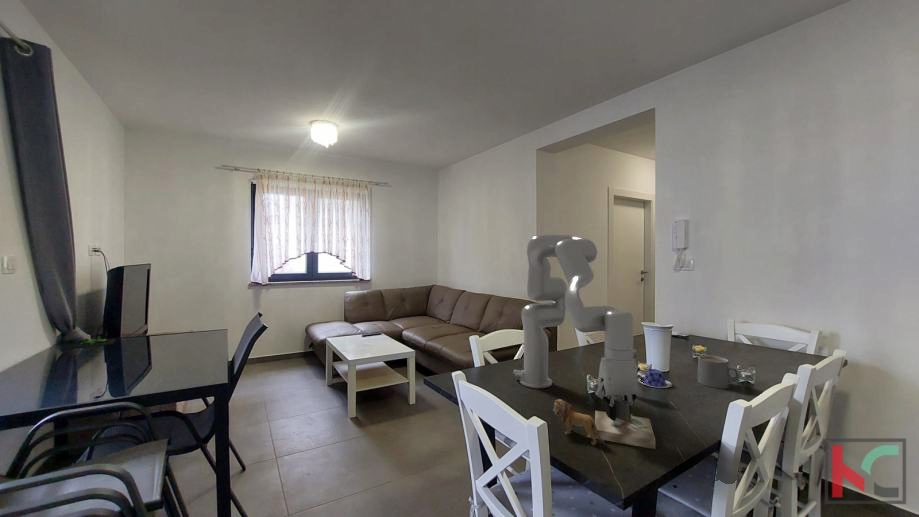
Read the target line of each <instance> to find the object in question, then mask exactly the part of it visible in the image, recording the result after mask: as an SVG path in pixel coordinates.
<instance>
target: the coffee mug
mask: <svg viewBox="0 0 919 517" xmlns="http://www.w3.org/2000/svg"><path fill="white" fill-rule="evenodd" d="M729 361H730V360H728V359H727V358H725V357H722V356H717V355H709V354H708V355H707V354H705V355H704V354H702V355H701V354H700V355H698V356H697V383H699V384H700V383H701V384H700V385H702V384H703V385H702V386H704V385H706V386H705V387H708V386H709V387H708V388H714V389H728V388H729V384H730V383H734V382H737V381H739V380H740V379H741V371H740V369H739V368H738V367H737V366H735V365H732V364H730V362H729ZM731 370H733V371H734V372H735V376H734V377H732V376H730V371H731Z"/></svg>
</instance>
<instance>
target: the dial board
mask: <svg viewBox="0 0 919 517" xmlns="http://www.w3.org/2000/svg"><path fill="white" fill-rule="evenodd" d="M594 413H595V414H594V422H595V424H596V427H597V431H598V434H599V437H600V438H601V439H602V440H604V441H605V442H606V441H607V442H608V441H609V442H612V443H619V444H625V445H631V446H635V447H641V448H646V449H647V448H648V449H652V450H656V437H655V433H654V431H653V426H652V422H651V420H650V418H648V417H640V416H634V415H632V418H631V419H630V420H628V421H626V422H624V423H622V425H621V426H616V425H614V424H613V421H612V420H611V419H610V418H609V417H608V416H607V414H606V411H600V410H595V411H594ZM594 435H595V437H596V440H599V439H598V437H597V434H596V431H595V430H594Z"/></svg>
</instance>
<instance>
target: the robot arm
mask: <svg viewBox="0 0 919 517" xmlns="http://www.w3.org/2000/svg"><path fill="white" fill-rule="evenodd" d="M526 246H527V247H526V248H527V249H526V255H527V261H528V273H527V285H526V286H527V287H526V290H527V291H526V292H527V293H526V295H527V296H528V299H530V300H531V301H535V302H536V303H530V304H527V305H525V306H523V308H522V309H521V313H520V314H521V316H520V317H521V322H522V326H523V328H522V329H523V369H521V370H520V369H513V375H514V377H520V378H519V383H520V384H521V385H522V386H525V387H527V388H531V389H546V388H550V387H551V386H552V385H553V380H552V379H551V378H549V338H548V335H547V334H546V332H545V331H544V329H545V328H551V327H559V326H561V325H562V324H564V322H565V319H566V312H567V315H568V316H569V320H570V322H571V324H572V325H573V327H574V328H575V329H576V330H577V331H578V332H580V333H586V334H587V333H598V332H603V333H604V341H603V342H604V353H603V354H604V356H603V357H601V359H600V363H599V369H598V377H597V378H598V379H597V381H598V383H597V387H598V388H597V389H596V391H595V393H594V394H595V396H597V397H598V398H600V399H601V400H602V401H603V402H604V403H605V412H606V413H607V416H608V417H609V418H610V419H611V420H612V421H615V420H616V407H615V406H614V400H615V397H617V396H622V399H623V400H626V401H629V402H630V419H631V414H632V406H633V405H634V402H635V400H636V399H637V398H638V397H639V396H640V395H641V394H643V391H642V389H641V387H640V386H639V381H638V379H639V373H637V366H638V365H637V363H636V359H635V358H634V355H636V354H637V349H635V348H634V315H633V313H632V312H631V311H629V310H623V309H616V308H615V307H612V306H608V305H602V306H601V305H600V306H598V305H597V306H596V305H595V306H585V305H584V303H583V302H582V301H583V300H582V299H581V296H580V289H582V288H585V287H586V286H588V285H589V284H590V283H591V282H592V281H593V280H594V278H595V273H594V272H593V269H592V267H591V266H590V263H592V262H594V261H595V260H596V258H597V255H598V249H597V246H596V244H595V243H594V242H593V241H592V240H591V239H588V238H585V237H584V238H583V237H580V236H575V235H570V234H569V235H568V234H537V235H534V236H532V237H531V238H530V239H529V241H528V243H527V245H526ZM548 258H557V260H558V262H559V263H558V264H559V265H560V268H561V269H562V272H563V274H564V276H565V279H566V281H567V283H568V286H567V283H566V282H565V280H564V278H562V277H560V276H551V273H552V272H551V271H552V270H551V269H552V267H551V266H552V265H551V263H550V261H549V259H548ZM541 301H543V302H541ZM544 301H545V302H544ZM547 301H548V302H547ZM537 302H539V303H537ZM540 302H541V303H540ZM636 365H637V366H636ZM604 392H605V394H604Z"/></svg>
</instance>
